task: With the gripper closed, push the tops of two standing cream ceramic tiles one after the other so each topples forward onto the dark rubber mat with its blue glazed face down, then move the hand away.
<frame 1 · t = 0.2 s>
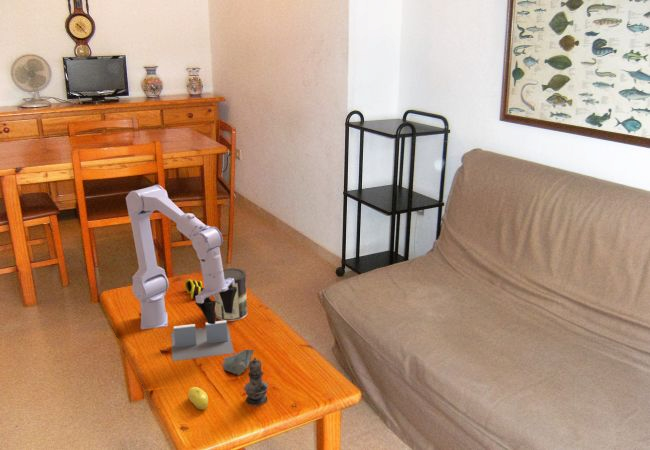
hand: (220, 317, 168), 11 cm above the table, tool pointing down, fingers open, 7 cm apart
coffee can: (231, 315, 193), on the table
mat: (201, 343, 175), on the table
dark chess piece: (256, 400, 149), on the table
tile b: (217, 341, 176), resting on mat
lemon: (199, 404, 148), on the table
stone: (236, 368, 163), on the table
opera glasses: (196, 295, 207), on the table
tile a: (185, 344, 174), resting on mat
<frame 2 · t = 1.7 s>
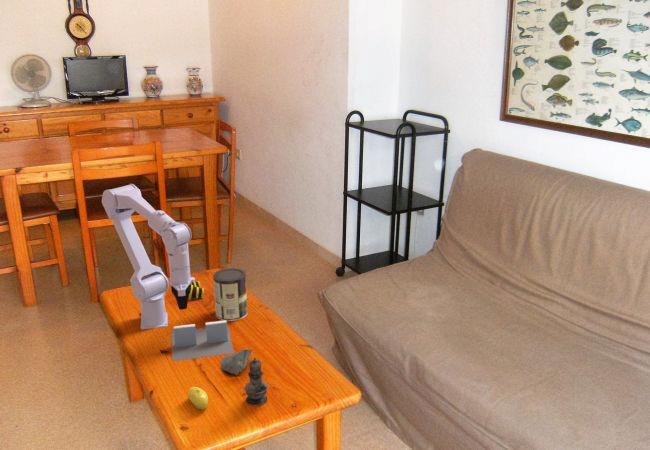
hand: (183, 308, 176), 9 cm above the table, tool pointing down, fingers closed
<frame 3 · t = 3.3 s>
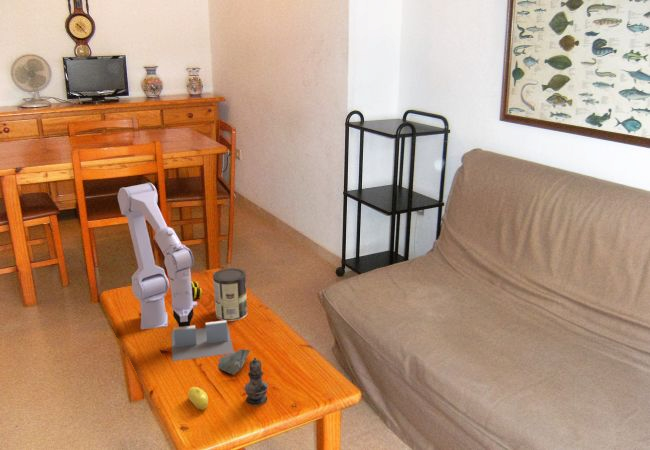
hand: (185, 333, 174), 4 cm above the table, tool pointing down, fingers closed
tile a: (185, 344, 174), point 1 cm above the table, tilted 11°, touching gripper, mat
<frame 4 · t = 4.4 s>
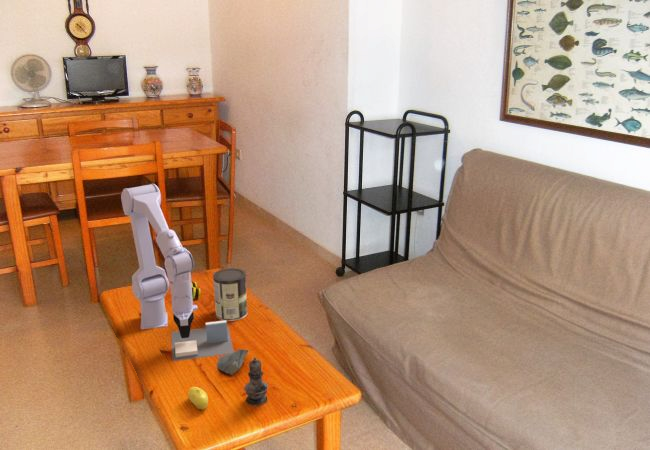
hand: (185, 336, 172), 4 cm above the table, tool pointing down, fingers closed
tile a: (185, 343, 173), point 1 cm above the table, tilted 90°, touching mat
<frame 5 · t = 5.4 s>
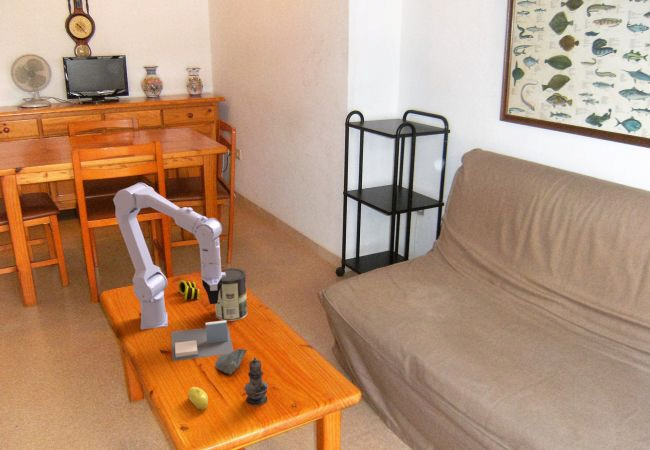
hand: (213, 303, 178), 10 cm above the table, tool pointing down, fingers closed
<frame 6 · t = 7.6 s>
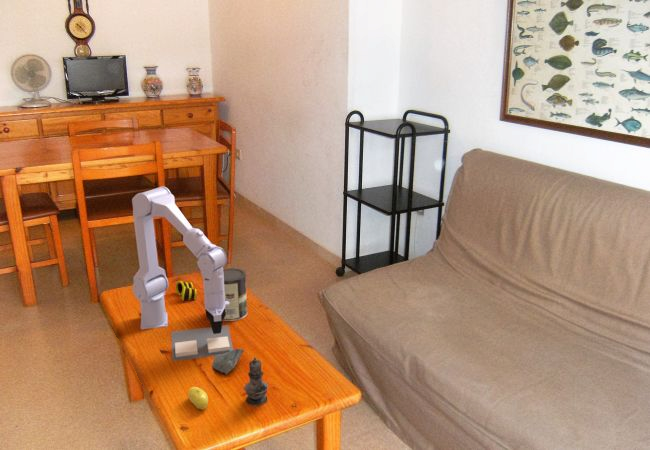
hand: (216, 332, 174), 4 cm above the table, tool pointing down, fingers closed
tile b: (217, 340, 175), point 1 cm above the table, tilted 90°, touching mat
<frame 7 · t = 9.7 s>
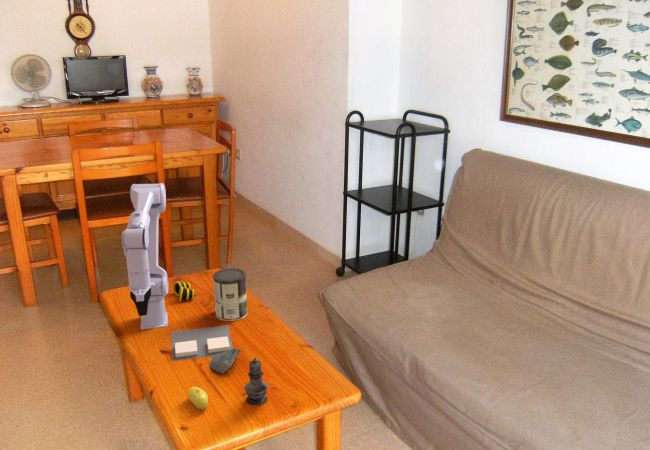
hand: (143, 314, 170), 10 cm above the table, tool pointing down, fingers closed
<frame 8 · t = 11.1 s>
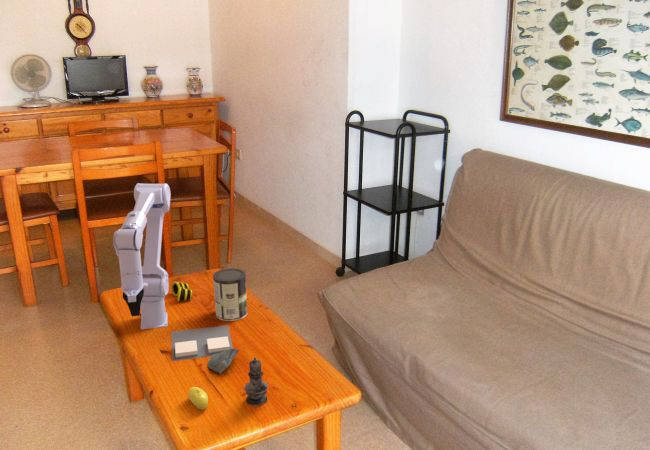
hand: (135, 315, 170), 10 cm above the table, tool pointing down, fingers closed
at the end: tile a tilted 90°; tile b tilted 90°; tile b inside the target area (2.7 cm from its centre), point 1.2 cm above the table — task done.
